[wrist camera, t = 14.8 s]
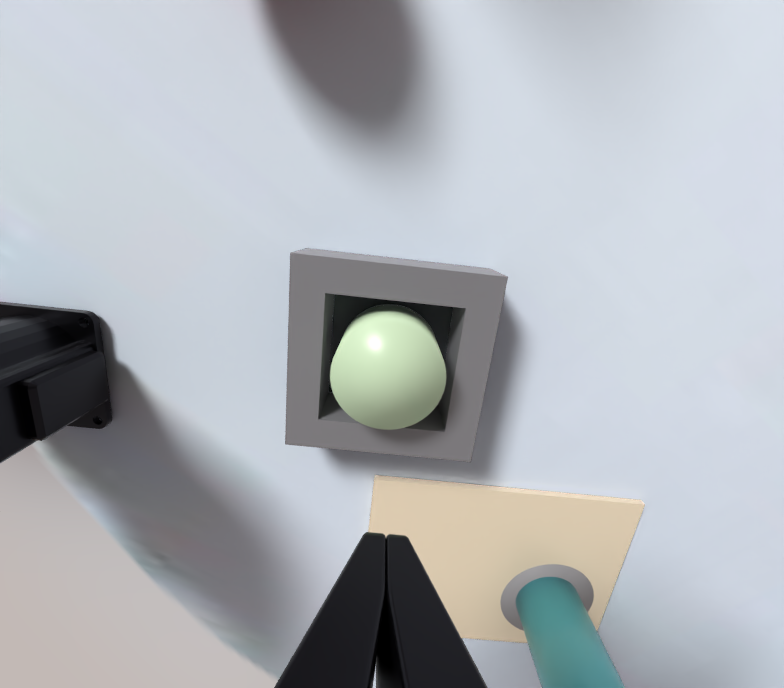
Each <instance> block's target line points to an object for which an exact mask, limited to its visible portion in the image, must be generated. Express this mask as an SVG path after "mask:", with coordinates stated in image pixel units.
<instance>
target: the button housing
mask: <svg viewBox="0 0 784 688" xmlns="http://www.w3.org/2000/svg"><path fill="white" fill-rule="evenodd" d="M507 279H508V277H507V276H505V275H503V274H501V273H498V272H496V271H494V270H492V269H489V268H480V267H471V266H462V265H453V264H444V263H435V262H426V261H417V260H408V259H399V258H390V257H381V256H372V255H363V254H354V253H345V252H336V251H327V250H318V249H310V248H305V249H302V250H298V251H295V252H291V253H290V286H289V323H288V360H287V398H286V435H285V444H287V445H298V446H308V447H319V448H329V449H340V450H350V451H360V452H371V453H381V454H392V455H402V456H413V457H423V458H433V459H444V460H454V461H465V462H471V458H472V453H473V449H474V444H475V439H476V434H477V429H478V424H479V419H480V414H481V409H482V404H483V399H484V394H485V389H486V384H487V379H488V374H489V369H490V364H491V359H492V354H493V349H494V344H495V339H496V334H497V329H498V324H499V319H500V314H501V309H502V304H503V299H504V294H505V289H506V284H507ZM335 294H338V295H347V296H356V297H366V298H375V299H384V300H393V301H403V302H412V303H421V304H430V305H440V306H449V307H453V312H452V318H451V324H450V330H449V337H448V343H447V349H446V355H445V362H444V363H445V368H446V385H445V389H444V392H443V395H442V398H441V399H440V401H439V403H438V405H437V406H436V407H435V409H434V410H433V411H432V412H431V413H430V414H429V415H428V416H426V417H425V418H424V419H422V420H421V421H419V422H418V423H415V424H413V425H411V426H408V427H405V428H400V429H393V430H383V429H376V428H372V427H369V426H366V425H364V424H361V423H359V422H358V421H356V420H354V419H353V418H352V417H350V416H349V415H348V414H347V413H346V412H345V411H344V410H343V409H342V408H341V406H340V405H339V404H338V402H337V400H336V398H335V396H334V394H333V393H330V392H329V377H330V361H331V345H332V329H333V314H334V298H335Z"/></svg>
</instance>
